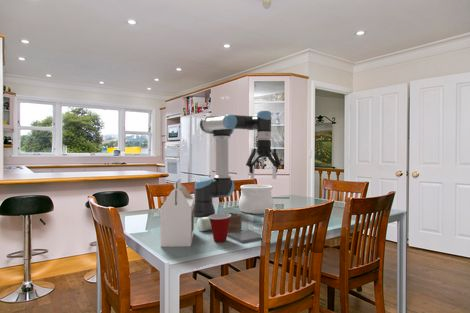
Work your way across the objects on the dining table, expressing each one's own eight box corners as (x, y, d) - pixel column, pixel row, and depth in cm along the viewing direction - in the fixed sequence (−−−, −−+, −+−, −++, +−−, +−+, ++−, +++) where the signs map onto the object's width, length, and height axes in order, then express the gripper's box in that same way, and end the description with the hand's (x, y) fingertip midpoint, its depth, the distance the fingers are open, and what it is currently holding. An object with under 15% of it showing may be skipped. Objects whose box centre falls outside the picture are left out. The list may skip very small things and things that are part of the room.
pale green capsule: (203, 232, 159) (203, 219, 159) (197, 229, 165) (197, 216, 165) (218, 230, 164) (218, 217, 164) (212, 227, 170) (212, 215, 170)
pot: (241, 207, 232) (241, 183, 231) (274, 208, 228) (274, 184, 228) (236, 214, 206) (236, 187, 206) (273, 215, 203) (273, 188, 202)
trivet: (226, 235, 154) (226, 233, 154) (249, 231, 162) (249, 229, 162) (241, 243, 142) (241, 240, 142) (265, 238, 150) (265, 236, 150)
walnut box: (218, 229, 167) (218, 214, 166) (232, 227, 171) (232, 212, 171) (226, 233, 159) (227, 217, 159) (241, 230, 164) (241, 215, 164)
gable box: (167, 233, 158) (167, 178, 157) (194, 233, 159) (194, 178, 158) (160, 247, 136) (160, 183, 135) (190, 246, 136) (191, 183, 136)
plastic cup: (208, 237, 151) (208, 212, 151) (230, 237, 152) (230, 212, 151) (207, 244, 140) (207, 217, 140) (231, 243, 141) (231, 217, 141)
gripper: (246, 139, 160) (245, 180, 160) (287, 140, 170) (286, 178, 170) (240, 139, 166) (239, 179, 167) (279, 140, 177) (279, 177, 177)
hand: (263, 179), depth 169 cm, fingers open, 13 cm apart
